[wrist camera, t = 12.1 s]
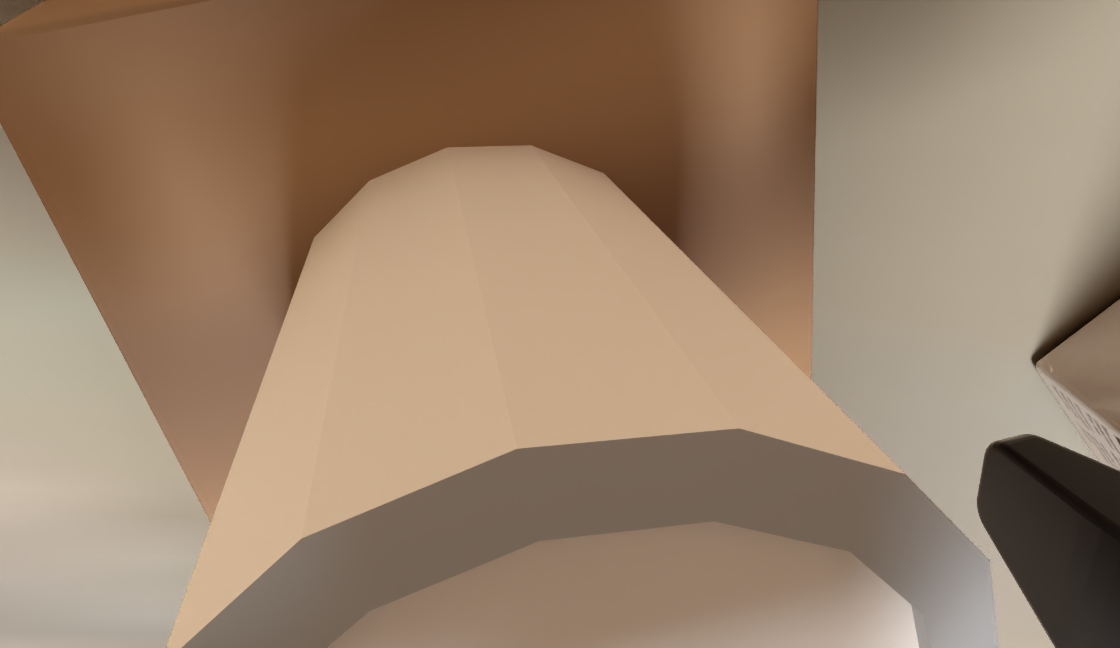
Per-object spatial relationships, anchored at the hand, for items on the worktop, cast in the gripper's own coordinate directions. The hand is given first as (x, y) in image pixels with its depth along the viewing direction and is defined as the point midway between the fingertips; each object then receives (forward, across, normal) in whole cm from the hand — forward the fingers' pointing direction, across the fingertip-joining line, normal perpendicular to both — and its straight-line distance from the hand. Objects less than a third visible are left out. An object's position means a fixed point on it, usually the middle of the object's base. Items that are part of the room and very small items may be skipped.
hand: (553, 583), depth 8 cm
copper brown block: (+9, 0, 0) cm, 9 cm away
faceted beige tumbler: (+5, 0, 0) cm, 5 cm away
